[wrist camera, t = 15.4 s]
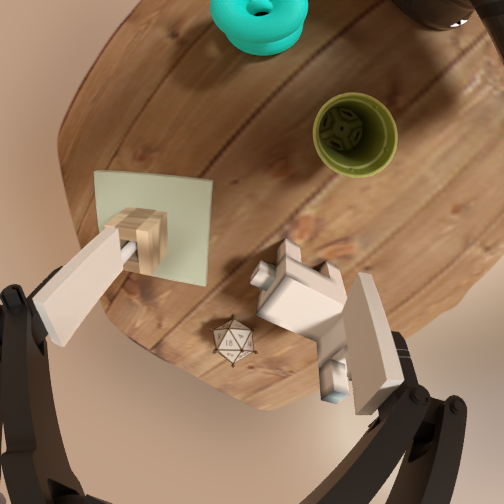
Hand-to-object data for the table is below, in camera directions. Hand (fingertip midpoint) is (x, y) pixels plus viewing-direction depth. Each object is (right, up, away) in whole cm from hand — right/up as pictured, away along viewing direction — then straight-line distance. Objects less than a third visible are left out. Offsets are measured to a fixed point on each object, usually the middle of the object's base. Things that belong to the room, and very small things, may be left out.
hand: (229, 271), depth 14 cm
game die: (-2, -13, +37) cm, 39 cm away
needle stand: (-15, +5, +28) cm, 33 cm away
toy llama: (+10, -2, +30) cm, 32 cm away
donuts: (+3, +30, +12) cm, 33 cm away
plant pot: (+13, +17, +19) cm, 28 cm away
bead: (-15, +5, +27) cm, 32 cm away
